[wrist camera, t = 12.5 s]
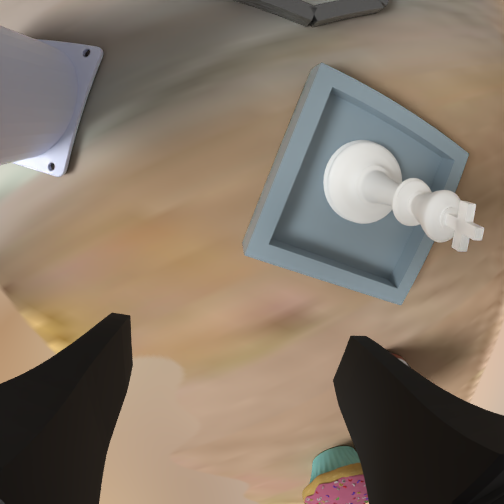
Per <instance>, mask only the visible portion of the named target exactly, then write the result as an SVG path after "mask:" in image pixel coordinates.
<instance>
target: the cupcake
mask: <svg viewBox="0 0 504 504" xmlns="http://www.w3.org/2000/svg"><path fill="white" fill-rule="evenodd" d="M302 496H303V500H304V503H305V504H365V503H367V502H368V501H369V500H368V494H367V489H366V484H365V480H364V475H363V471H362V467H361V463H360V460H359V457H358V454H357V452H356V451H355V450H354V449H353V448H352V447H349V446H339V447H334V448H331V449H328V450H326V451H324V452H322V453H320V454H319V455H318V456H317V457H316V458H315V459H314V460H313V465H312V474H311V480H310V484H309V485H308V486H307V487H306V488H305V489H304V490H303V493H302Z"/></svg>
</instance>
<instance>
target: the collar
mask: <svg viewBox="0 0 504 504" xmlns="http://www.w3.org/2000/svg"><path fill="white" fill-rule="evenodd" d="M234 1H237V2H241V3H244V4H247V5H250V6H253V7H256V8H259V9H262V10H265V11H268V12H270V13H273V14H276V15H278V16H281V17H284V18H286V19H289V20H291V21H294V22H296V23H299V24H301V25H303V26H306V27H307V25H308V24H309V23H310V24H311V26H312V27H315V26H319V25H323V24H327V23H331V22H335V21H339V20H344V19H348V18H353V17H358V16H363V15H368V14H374V13H376V12H378V11H379V10H381V9H382V8H384V7H385V6H386V5H387V3H388V0H338V1H333V2H328V3H324V4H319V5H315V6H313V5H311V4H308V3H306V2H303V1H301V0H234Z"/></svg>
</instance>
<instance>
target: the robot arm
mask: <svg viewBox="0 0 504 504" xmlns="http://www.w3.org/2000/svg"><path fill="white" fill-rule="evenodd" d="M89 50H90V51H91V52H90V55H89V56H87V57H85V53H86V52H87V51H89ZM102 57H103V50H102V49H101V48H99V47H97V46H91V45H84V44H77V43H69V42H61V41H52V40H41V39H33V38H31V37H29V36H26V35H23V34H21V33H18V32H16V31H13V30H10V29H8V28H5V27H2V26H0V165H3V164H7V163H14V164H17V165H21V166H24V167H27V168H30V169H33V170H37V171H40V172H43V173H46V174H49V175H53V176H56V177H60V176H63V175H64V174H65V173H66V171H67V168H68V164H69V159H70V155H71V151H72V148H73V144H74V140H75V136H76V133H77V129H78V126H79V123H80V119H81V116H82V113H83V110H84V106H85V103H86V100H87V97H88V95H89V92H90V89H91V86H92V83H93V80H94V78H95V75H96V72H97V70H98V67H99V65H100V62H101V60H102ZM52 163H54V165H55V168H54V170H52V168H51V164H52ZM132 366H133V361H132V345H131V322H130V315H123V314H117V313H111V314H110V315H108V316H107V317H106V318H104V319H103V320H102V321H101V322H99V323H98V324H97V325H95V326H94V327H93V328H92V329H90V330H89V331H88V332H87V333H85V334H84V335H83V336H81V337H80V338H79V339H77V340H76V341H75V342H73V343H72V344H71V345H69V346H68V347H66V348H65V349H63V350H62V351H60V352H59V353H57V354H56V355H54V356H53V357H52V358H50V359H49V360H47V361H45V362H44V363H42V364H40V365H39V366H37V367H35V368H33V369H31V370H29V371H27V372H26V373H24V374H22V375H20V376H17V377H15V378H13V379H11V380H8V381H6V382H3V383H1V384H0V504H99V498H100V490H101V483H102V476H103V470H104V465H105V459H106V454H107V451H108V447H109V443H110V440H111V437H112V434H113V431H114V428H115V425H116V422H117V419H118V416H119V413H120V410H121V407H122V405H123V402H124V399H125V396H126V393H127V389H128V385H129V380H130V376H131V371H132ZM333 382H334V387H335V392H336V396H337V400H338V404H339V407H340V410H341V412H342V415H343V418H344V420H345V423H346V425H347V428H348V431H349V433H350V436H351V438H352V441H353V443H354V446H355V449H356V451H357V454H358V457H359V460H360V463H361V467H362V471H363V475H364V480H365V484H366V489H367V494H368V500H369V504H504V416H503V415H499V414H496V413H493V412H490V411H488V410H485V409H482V408H480V407H478V406H475V405H473V404H470V403H468V402H466V401H464V400H462V399H460V398H458V397H456V396H454V395H452V394H451V393H449V392H447V391H445V390H443V389H442V388H440V387H438V386H437V385H435V384H434V383H432V382H430V381H429V380H427V379H426V378H424V377H423V376H421V375H420V374H419V373H417V372H416V371H414V370H413V369H411V368H410V367H409V366H407V365H406V364H405V363H403V362H402V361H401V360H399V359H398V358H397V357H395V356H394V355H393V354H391V353H390V352H389V351H387V350H386V349H384V348H383V347H382V346H380V345H379V344H378V343H376V342H375V341H373V340H372V339H370V338H368V337H367V336H350V339H349V341H348V344H347V347H346V349H345V352H344V355H343V357H342V360H341V362H340V365H339V367H338V370H337V372H336V374H335V377H334V379H333Z"/></svg>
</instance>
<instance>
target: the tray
mask: <svg viewBox="0 0 504 504" xmlns="http://www.w3.org/2000/svg"><path fill="white" fill-rule="evenodd" d="M356 140H368V141H372V142H375V143H377V144H379V145H381V146H383V147H385V148H386V149H387V150H389V151H390V152H391V153H392V154H393V156H394V157H395V159H396V160H397V162H398V164H399V167H400V170H401V174H402V182H403V181H405V180H406V179H409V178H418V179H420V180H422V181H423V182H425V183H426V184H427V185H428V187H429V188H430V190H431V192H435V191H439V190H449V191H452V192H454V193H455V191H456V189H457V186H458V184H459V181H460V178H461V176H462V173H463V170H464V167H465V164H466V162H467V159H468V156H469V153H467V152H466V151H465V150H464V149H462V148H461V147H460V146H458V145H457V144H456V143H455V142H453V141H452V140H451V139H449V138H448V137H447V136H445V135H444V134H442V133H441V132H440V131H438V130H437V129H435V128H434V127H433V126H431V125H430V124H428V123H427V122H425V121H424V120H422V119H421V118H419V117H418V116H416V115H415V114H413V113H412V112H410V111H409V110H407V109H406V108H404V107H402V106H401V105H399V104H398V103H396V102H394V101H393V100H391V99H389V98H388V97H386V96H384V95H383V94H381V93H379V92H377V91H376V90H374V89H372V88H370V87H369V86H367V85H365V84H363V83H361V82H359V81H358V80H356V79H354V78H352V77H350V76H348V75H346V74H344V73H342V72H340V71H338V70H336V69H334V68H332V67H330V66H328V65H326V64H324V63H320V64H318V65H317V66H315V67H314V68H312V69H311V71H310V73H309V76H308V78H307V81H306V83H305V86H304V88H303V91H302V93H301V96H300V98H299V101H298V103H297V106H296V108H295V110H294V113H293V115H292V118H291V120H290V123H289V125H288V128H287V130H286V133H285V135H284V138H283V140H282V143H281V145H280V148H279V150H278V153H277V155H276V158H275V160H274V163H273V166H272V168H271V171H270V173H269V176H268V178H267V181H266V183H265V186H264V188H263V191H262V193H261V196H260V198H259V201H258V204H257V206H256V209H255V211H254V214H253V216H252V219H251V221H250V224H249V227H248V229H247V232H246V234H245V237H244V239H243V242H242V245H243V251H244V255H245V256H248V257H251V258H254V259H257V260H261V261H264V262H267V263H270V264H273V265H276V266H279V267H282V268H285V269H288V270H292V271H295V272H298V273H301V274H304V275H307V276H310V277H313V278H317V279H320V280H323V281H326V282H329V283H332V284H335V285H338V286H342V287H345V288H348V289H351V290H354V291H357V292H360V293H363V294H367V295H370V296H373V297H376V298H379V299H382V300H386V301H389V302H392V303H395V304H398V305H402V303H403V301H404V299H405V298H406V296H407V294H408V292H409V290H410V288H411V287H412V285H413V283H414V281H415V279H416V277H417V275H418V273H419V271H420V269H421V267H422V265H423V263H424V261H425V259H426V257H427V255H428V253H429V251H430V249H431V247H432V245H433V243H434V241H433V240H432V239H430V238H429V237H428V236H427V235H426V233H425V232H424V230H423V229H422V227H421V225H420V224H419V225H416V226H406V225H403V224H401V223H400V222H399V221H398V220H397V219H396V217H395V216H394V213H393V209H392V210H391V212H390V213H389V214H387V215H386V216H385V217H384V218H382V219H380V220H378V221H376V222H373V223H367V224H360V223H355V222H352V221H349V220H346V219H344V218H342V217H341V216H339V215H338V214H337V213H336V212H335V211H334V210H333V209H332V208H331V206H330V205H329V203H328V201H327V199H326V196H325V192H324V185H323V180H324V172H325V169H326V166H327V163H328V161H329V160H330V158H331V156H332V155H333V154H334V153H335V152H336V151H337V150H338V149H339V148H340V147H341V146H343V145H345V144H347V143H349V142H352V141H356Z"/></svg>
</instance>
